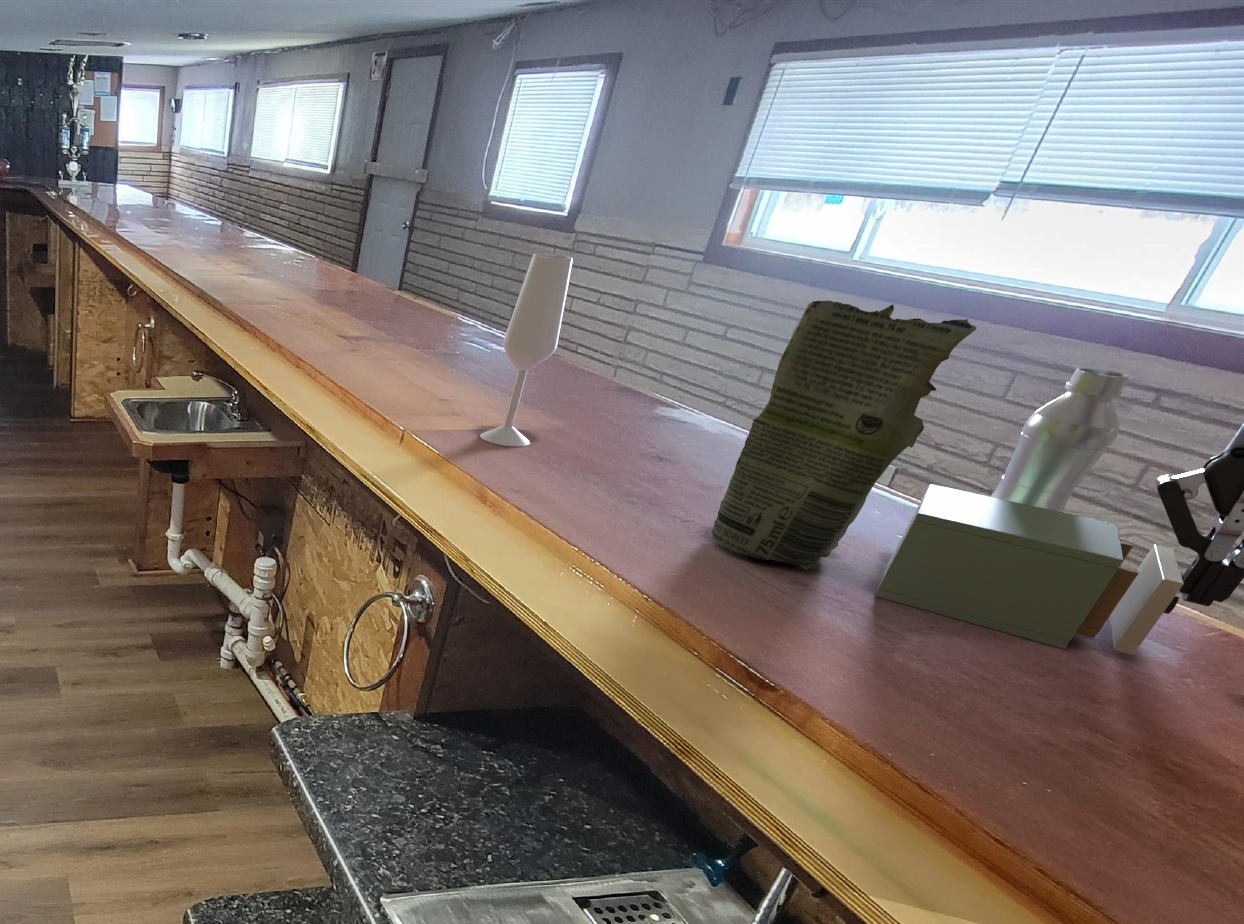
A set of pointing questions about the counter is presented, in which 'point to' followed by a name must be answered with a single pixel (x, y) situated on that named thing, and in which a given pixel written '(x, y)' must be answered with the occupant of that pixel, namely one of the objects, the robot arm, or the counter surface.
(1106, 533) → the cabinet
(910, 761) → the counter surface
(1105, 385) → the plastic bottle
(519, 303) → the champagne flute
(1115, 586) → the drawer
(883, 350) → the pouch
